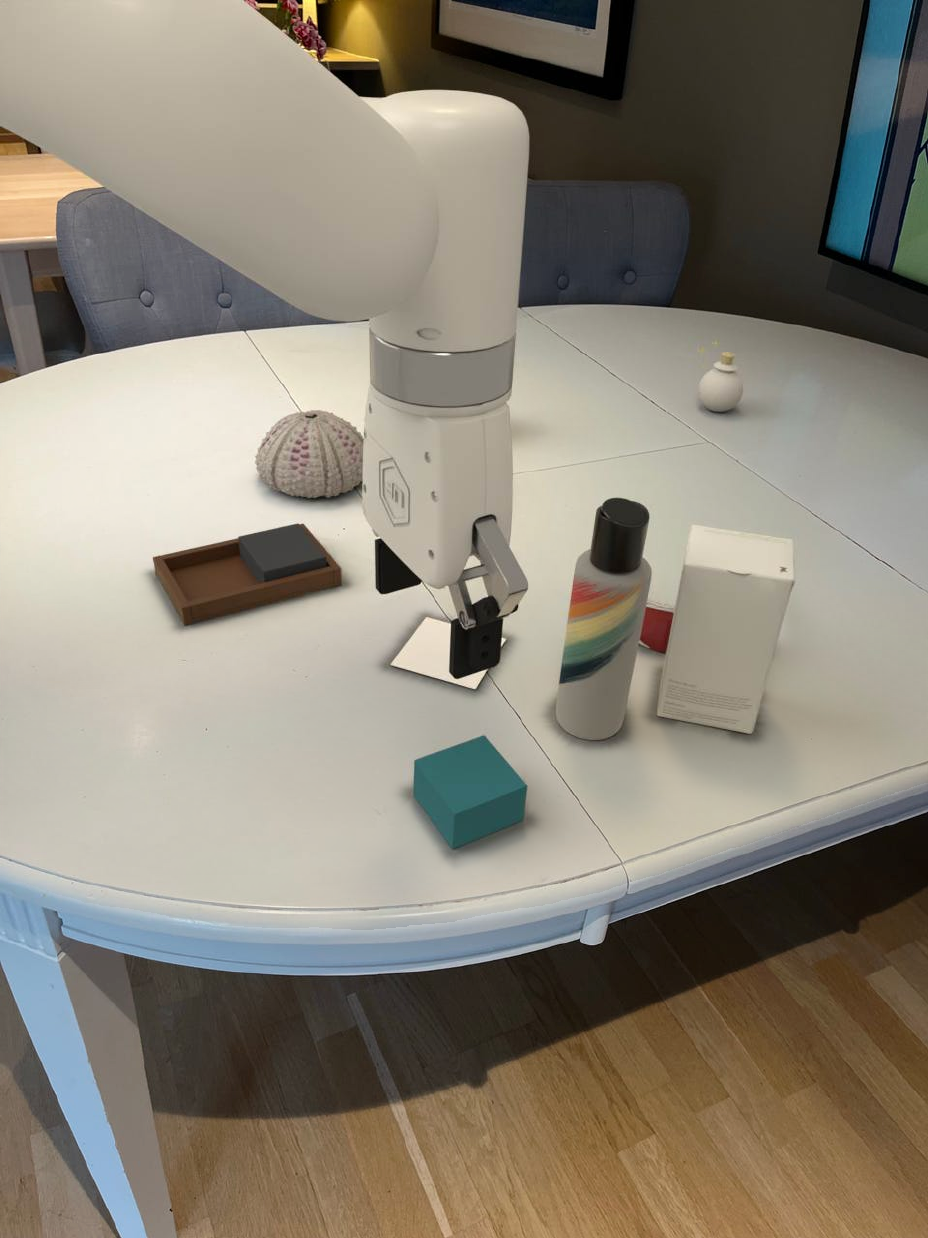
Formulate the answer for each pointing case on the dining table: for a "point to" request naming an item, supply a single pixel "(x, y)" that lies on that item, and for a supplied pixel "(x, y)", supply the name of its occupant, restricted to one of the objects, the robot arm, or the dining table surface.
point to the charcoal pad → (280, 553)
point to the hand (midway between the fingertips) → (434, 626)
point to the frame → (231, 581)
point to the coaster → (433, 653)
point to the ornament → (721, 384)
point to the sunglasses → (657, 625)
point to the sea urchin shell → (311, 455)
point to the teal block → (469, 791)
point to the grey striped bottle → (604, 622)
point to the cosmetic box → (725, 627)
